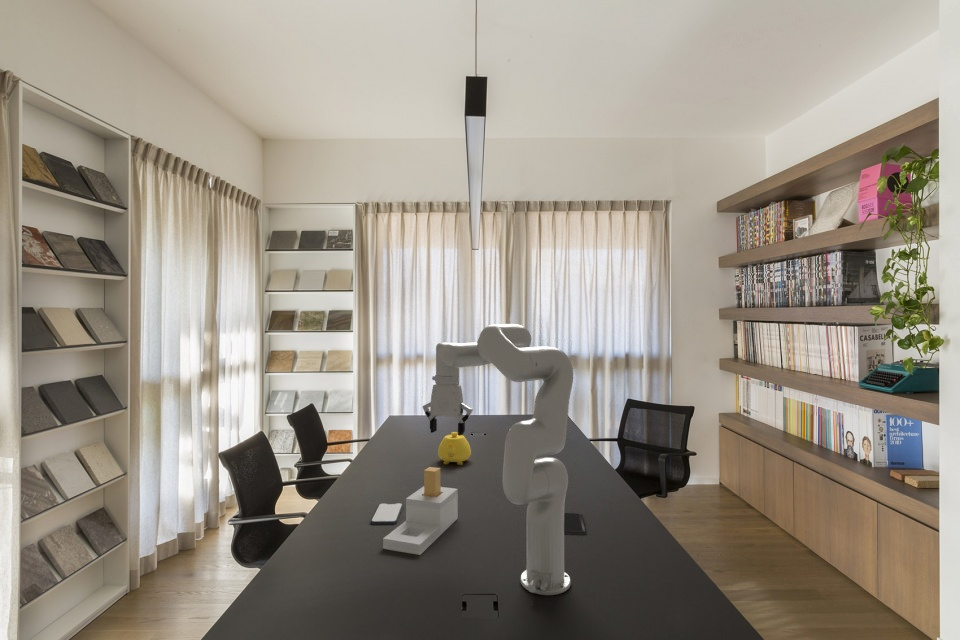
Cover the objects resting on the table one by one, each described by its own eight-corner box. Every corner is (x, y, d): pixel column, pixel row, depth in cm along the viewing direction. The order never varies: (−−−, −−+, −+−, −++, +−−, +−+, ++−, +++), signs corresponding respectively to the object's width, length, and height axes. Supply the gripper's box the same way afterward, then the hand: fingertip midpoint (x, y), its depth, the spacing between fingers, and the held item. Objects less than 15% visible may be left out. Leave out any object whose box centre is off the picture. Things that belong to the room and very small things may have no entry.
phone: (582, 513, 174) (586, 532, 159) (582, 517, 174) (586, 535, 159) (558, 512, 175) (560, 531, 160) (558, 516, 175) (560, 534, 160)
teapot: (466, 470, 227) (465, 439, 227) (431, 468, 229) (431, 438, 229) (473, 457, 246) (473, 429, 246) (442, 456, 249) (442, 428, 249)
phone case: (396, 526, 168) (403, 507, 184) (396, 521, 168) (403, 502, 184) (369, 526, 168) (379, 507, 184) (369, 521, 168) (379, 503, 184)
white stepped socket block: (420, 555, 146) (419, 520, 146) (383, 548, 150) (383, 514, 150) (457, 518, 172) (457, 488, 172) (425, 513, 176) (425, 485, 176)
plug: (435, 502, 165) (435, 471, 165) (424, 501, 166) (424, 470, 166) (440, 498, 169) (440, 468, 169) (429, 496, 170) (429, 466, 170)
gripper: (418, 380, 165) (417, 433, 165) (467, 383, 159) (467, 438, 159) (428, 377, 172) (428, 428, 172) (476, 380, 166) (476, 433, 166)
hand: (447, 433), depth 166 cm, fingers open, 9 cm apart
